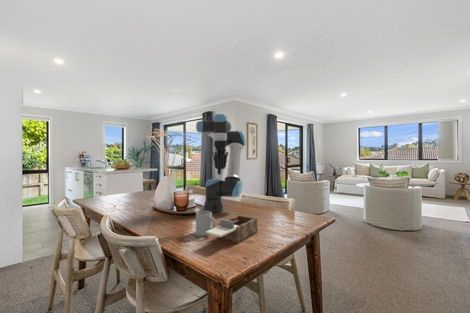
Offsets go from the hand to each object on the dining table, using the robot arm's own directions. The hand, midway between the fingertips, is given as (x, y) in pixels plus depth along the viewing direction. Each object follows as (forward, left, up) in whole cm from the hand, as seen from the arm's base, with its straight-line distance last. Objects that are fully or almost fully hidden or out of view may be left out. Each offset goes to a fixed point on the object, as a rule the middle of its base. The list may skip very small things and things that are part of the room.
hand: (220, 179), depth 137 cm
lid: (+23, +20, -20) cm, 36 cm away
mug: (+18, +5, -27) cm, 33 cm away
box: (+10, +20, -26) cm, 35 cm away
